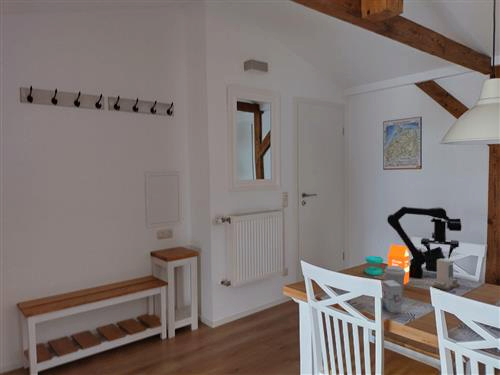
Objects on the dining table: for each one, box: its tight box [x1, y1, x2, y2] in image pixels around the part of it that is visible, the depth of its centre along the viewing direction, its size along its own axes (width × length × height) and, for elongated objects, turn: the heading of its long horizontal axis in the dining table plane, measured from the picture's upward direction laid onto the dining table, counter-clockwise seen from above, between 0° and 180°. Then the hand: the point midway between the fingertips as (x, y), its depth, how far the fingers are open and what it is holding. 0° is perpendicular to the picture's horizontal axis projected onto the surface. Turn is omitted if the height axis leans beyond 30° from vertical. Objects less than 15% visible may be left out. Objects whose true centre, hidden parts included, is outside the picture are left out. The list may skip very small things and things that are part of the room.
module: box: [436, 258, 454, 287], centre depth 193 cm, size 6×4×13 cm
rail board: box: [431, 277, 460, 292], centre depth 193 cm, size 14×7×4 cm, turn 125°
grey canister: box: [383, 265, 406, 302], centre depth 175 cm, size 10×10×15 cm
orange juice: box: [387, 244, 410, 285], centre depth 204 cm, size 8×9×20 cm
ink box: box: [382, 280, 402, 314], centre depth 162 cm, size 9×5×12 cm, turn 5°
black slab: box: [422, 246, 446, 273], centre depth 225 cm, size 4×13×15 cm, turn 47°
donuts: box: [364, 255, 384, 277], centre depth 219 cm, size 10×10×10 cm
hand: (439, 257), depth 208 cm, fingers open, 9 cm apart
